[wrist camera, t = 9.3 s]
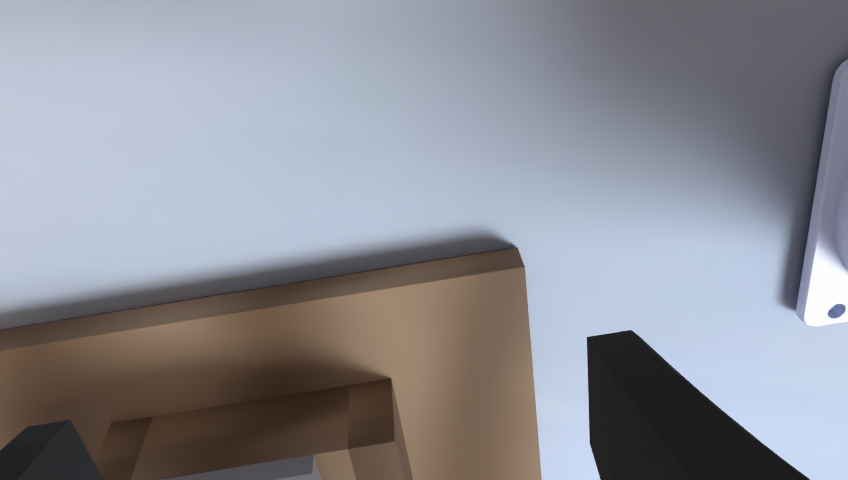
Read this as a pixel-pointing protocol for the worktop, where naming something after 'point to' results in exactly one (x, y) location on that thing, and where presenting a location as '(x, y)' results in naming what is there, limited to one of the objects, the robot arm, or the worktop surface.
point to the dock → (297, 377)
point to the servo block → (264, 471)
